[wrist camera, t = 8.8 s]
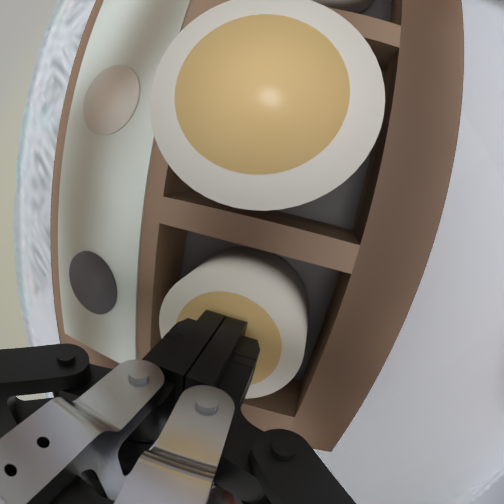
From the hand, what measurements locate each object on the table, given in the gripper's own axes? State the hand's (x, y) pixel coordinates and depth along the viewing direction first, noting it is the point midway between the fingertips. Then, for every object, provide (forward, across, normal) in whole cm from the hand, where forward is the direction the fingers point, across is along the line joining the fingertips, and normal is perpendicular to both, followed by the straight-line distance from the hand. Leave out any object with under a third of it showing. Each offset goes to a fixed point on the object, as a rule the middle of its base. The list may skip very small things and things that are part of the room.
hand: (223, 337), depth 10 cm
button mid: (+1, 0, -8) cm, 8 cm away
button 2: (+3, 0, 0) cm, 3 cm away
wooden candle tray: (+4, +2, -8) cm, 9 cm away
